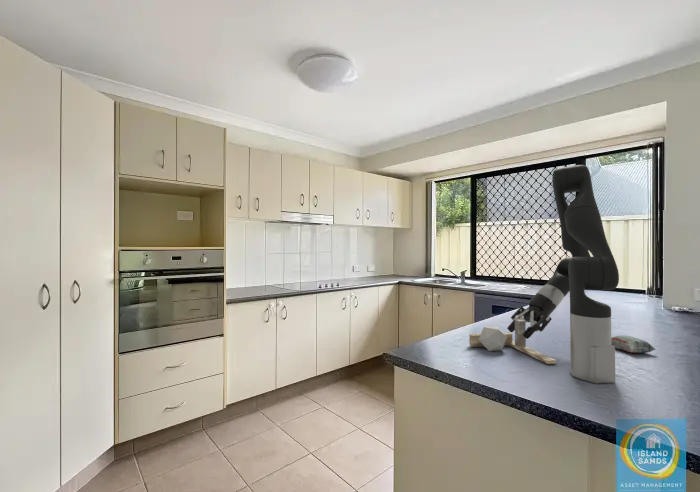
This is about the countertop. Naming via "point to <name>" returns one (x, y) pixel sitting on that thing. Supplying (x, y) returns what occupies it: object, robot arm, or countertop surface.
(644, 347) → the packaged food
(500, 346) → the die
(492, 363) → the countertop surface
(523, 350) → the l-shaped corner bracket
